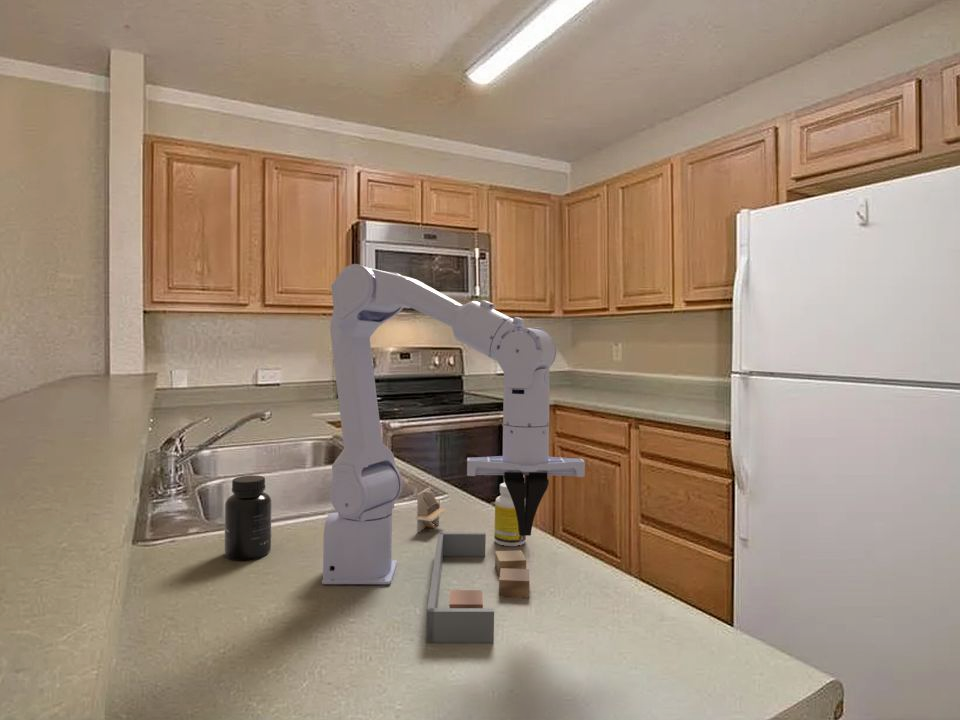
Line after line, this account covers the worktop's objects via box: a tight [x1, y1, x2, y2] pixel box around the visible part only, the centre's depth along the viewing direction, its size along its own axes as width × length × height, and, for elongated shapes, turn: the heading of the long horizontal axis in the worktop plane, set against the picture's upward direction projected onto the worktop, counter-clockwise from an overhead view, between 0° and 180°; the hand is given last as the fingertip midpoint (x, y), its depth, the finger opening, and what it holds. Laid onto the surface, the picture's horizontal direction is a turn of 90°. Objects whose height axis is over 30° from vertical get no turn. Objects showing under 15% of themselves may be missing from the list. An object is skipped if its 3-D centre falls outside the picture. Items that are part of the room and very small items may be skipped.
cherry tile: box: [448, 589, 484, 608], centre depth 69 cm, size 4×4×2 cm
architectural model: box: [415, 486, 447, 534], centre depth 101 cm, size 3×7×7 cm, turn 161°
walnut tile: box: [498, 568, 530, 599], centre depth 76 cm, size 4×4×2 cm
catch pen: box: [426, 532, 495, 644], centre depth 76 cm, size 8×27×4 cm, turn 2°
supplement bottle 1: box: [224, 474, 272, 562], centre depth 88 cm, size 7×7×12 cm
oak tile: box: [494, 549, 527, 577], centre depth 83 cm, size 4×4×2 cm
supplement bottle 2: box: [493, 482, 527, 547], centre depth 96 cm, size 5×5×10 cm
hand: (524, 533), depth 70 cm, fingers closed
